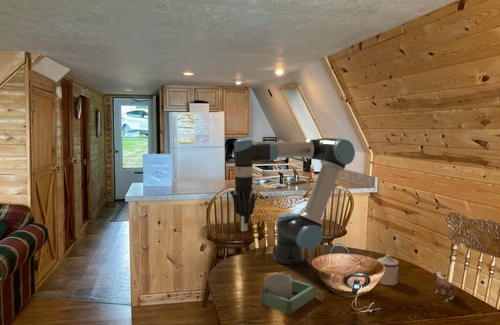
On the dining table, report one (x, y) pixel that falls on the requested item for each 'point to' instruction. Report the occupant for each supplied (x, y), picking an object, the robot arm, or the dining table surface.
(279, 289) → the teacup
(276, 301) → the tray
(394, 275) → the teacup with lid
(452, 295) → the bull figurine
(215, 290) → the dining table surface
